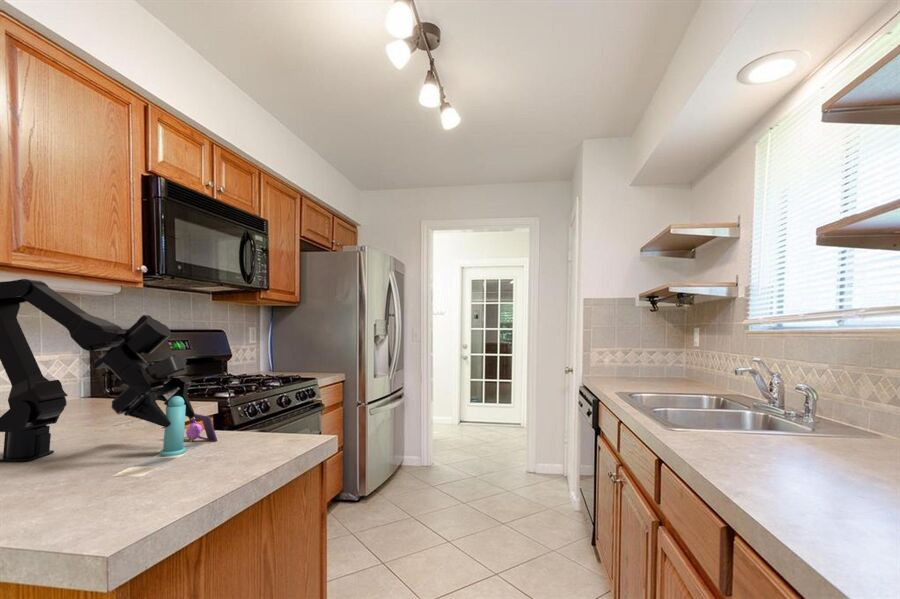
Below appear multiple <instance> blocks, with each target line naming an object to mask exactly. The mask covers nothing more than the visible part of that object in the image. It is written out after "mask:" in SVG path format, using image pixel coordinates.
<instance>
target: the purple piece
mask: <svg viewBox="0 0 900 599" xmlns="http://www.w3.org/2000/svg"><path fill="white" fill-rule="evenodd" d="M188 420H189V426H188V427H187V429H186V432H185V434H186V437H187V438H188V439H189V442H194V440H197V439H198V438H199V439H202V438H203V439H202V440H206V439H207V441H211V440H212V441H211V442H215V443H216V442H218V438H217V434H216V431H215V428H214V425H213V421H212V419H211V416H209V415H203V414H199V413H198V414H197V413H195V416H194V417H193V418H189V417H188ZM196 420H199V421H201V422H202V424H203V426H202V425H201V424H200V423H198V422H197V421H196ZM203 428H204V429H203ZM203 431H205V435H206V437H205V436H204V437H203V436H201V435H200V434H201V432H203Z"/></svg>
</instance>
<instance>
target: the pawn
mask: <svg viewBox="0 0 900 599" xmlns="http://www.w3.org/2000/svg"><path fill="white" fill-rule="evenodd" d="M185 410H186V405H184V399H183V398H182V397H180V396H174V397H172V398H171V399H170V400H169V401H168V406H166V405H165V415H166V416H167V418H168V419H169V421H170V422H171V425H170V426H168V427H164V430H163V431H164V433H163V448H162V449H161V450H160V451H159V452H160V453H159V454H160V455H161V456H176V455H181V454H184V453H185V452H186V450H187V449H186V448H185V447H183V443H184V442H185V441H184V440H185V439H184V438H185V426H186V424H185V423H186V416H185ZM184 455H185V454H184Z"/></svg>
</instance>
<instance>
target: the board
mask: <svg viewBox="0 0 900 599" xmlns="http://www.w3.org/2000/svg"><path fill="white" fill-rule="evenodd" d="M207 444H208V445H210V444H212V441H192V442H190V441H184V443H183V447H185V448H186V452H185V453H184V454H181V455H176V456H161V455H160V453H159V454H156V455H154V456H153V457H150V458H148V459H145V460H143V461H141V462H139V463H136V464H134V465H133V467H132V466H131V467H130V466H129V467H128V468H125V469H124V470H122V471H120V472H117V473H115V474H113V475H111V476H110V478H111V477H112V478H114V477H115V478H120V477H121V478H125V477H127V478H130V477H131V478H133V477H134V478H136V477H137V478H138V477H139V478H140V477H142V476H145V475H146V474H148V473H150V472H152V471H155V470H156V469H159V467H162V466H164V465H166V464H168V463H170V462H172V461H174V460H176V459H177V458H179V457H182V456H183V455H185V454H188V453H190V452H192V451H193V450H195V449H197V448H199V447H202V446H203V445H207Z"/></svg>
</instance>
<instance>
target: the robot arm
mask: <svg viewBox="0 0 900 599" xmlns="http://www.w3.org/2000/svg"><path fill="white" fill-rule="evenodd" d="M24 303H29V304H30V305H32V306H33V307H35V308H36V309H37V310H40V311H41V313H43V314H45V315H46V316H48V317H49V318H51V319H52V320H54V321H55V322H57V323H59V324H60V325H62V326H63V327H64V328H65V329H67V331H68V333H69V336H70V338H71V340H73V341H74V342H75V343H76V344H77V345H78V346H79V347H80V348H81V349H83V350H85V351H87V352H88V351H89V352H96V351H105V353H104V354H102V355H95V357H94V363H93V367H92V368H93V369H94V370H98V369H99V370H100V369H107V368H108V369H109V370H111V373H112V374H114V375H115V376H116V377H117V379H119V380H118V382H117V383H116V384H117V385H118V386H119V387H126V388H125V389H124V390H122V392H121V393H119V394H118V395H117V396H116V397H115V398H114V399H113V400H112V401H111V409H112V410H113V411H114V412H115V413H116V414H117V415H118V416H119V415H122V414H123V415H124V416H126V417H127V416H129V417H132V418H136V419H138V420H139V419H140V420H142V421H145V422H149V423H152V424H154V425H157V426H160V427H163V428H165V427H168V426H170V425H171V422H170V421H169V419H168V418H167V416H166V413H165V412H164V411H163V410H162V408H161V407H160V406H159V405H158V403H157V398H158V399H159V401H162V402H164V403H163V405H165V407H166V406H168V401H169V400H170V399H171V398H172V397H174V396H180V397H182V398H183V399H184V405H186V410H185V417H187V418H188V419H189V418H193V417H194V416H195V414H196V412H195V411H194V408H193V406H192V404H191V401H190V398H189V396H188V390H189V388H190V387H191V384H192V381H191V379H190V378H189V377H188V376H187V375H179V376H173V377H171V375H173V374H175V373H179V372H182V371H185V370H186V369H187V366H186V365H187V363H188V359H186V358H184V356H183V355H180V354H178V353H177V354H173V355H172V356H169V357H166V358H164V359H161V360H159V361H156V362H152V361H151V362H147V361H146V360H145V359H144V357H143V356H141V355H143V354H147V355H150V354H152V353H153V352H154V351H155V350H156V349H158V348H159V347H160V346H161V345H162V344H163V343H164V342H165V341H166V340H168V338H170V337H171V336H172V332H171V331H172V330H170V328H169V327H168V326H167V325H166V324H164V323H161V322H160V321H159V320H157V319H155V318H153V317H152V316H151V315H149V314H148V315H146V314H143V315H142V316H140V317H139V318H138V319H137V321H136V322H135V323H134V324H133V325H132V326H130V327H129V328H128V329H127V330H125V329H123V327H121V326H119V325H118V324H115V323H113V322H111V321H109V320H107V319H103V318H100V317H97V316H94V315H91V314H90V313H88V312H86V311H84V310H83V308H82V309H81V307H79V306H77V305H76V304H74V302H72V301H70V300H68V299H67V298H65V297H64V296H62V295H61V294H60V293H58V292H57V291H55V289H52V288H51V287H50V286H49V285H48V284H47V283H45V282H44V281H41V280H37V279H36V280H35V279H28V278H21V279H16V280H15V279H14V280H10V281H9V280H7V281H0V362H1V365H2V367H3V369H4V371H5V374H6V376H7V378H8V380H9V382H10V385H11V388H10V392H9V395H8V397H7V402H8V407H9V409H8V410H7V411H6V412H5V413H3V414H2V415H0V433H4V440H3V441H4V442H3V449H2V450H3V454H2V456H1V457H0V462H30V461H33V460H35V459H36V460H37V459H38V458H42V457H45V456H47V455H50V454H53V453H55V450H54V449H53V450H51V449H50V448H51V438H52V437H51V435H52V434H51V433H50V429H51V428H50V425H52V424H57V422H58V421H59V418H60V416H61V414H62V413H63V411H64V410H65V408H66V406H67V399H66V397H68V394H67V393H66V392H65V390H64V389H63V385H62V382H61V381H60V380H59V379H53V380H49V379H47V377H44V376H45V375H43V373H42V371H41V369H40V366H39V364H38V362H37V361H36V360H37V359H36V358H35V355H34V353H33V351H32V349H31V347H30V345H29V342H28V340H27V339H26V336H25V334H24V332H23V330H22V328H21V327H22V326H21V325H20V322H19V321H18V319H17V317H18V314H19V312H20V308H21V304H24ZM165 382H166V383H165Z"/></svg>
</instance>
